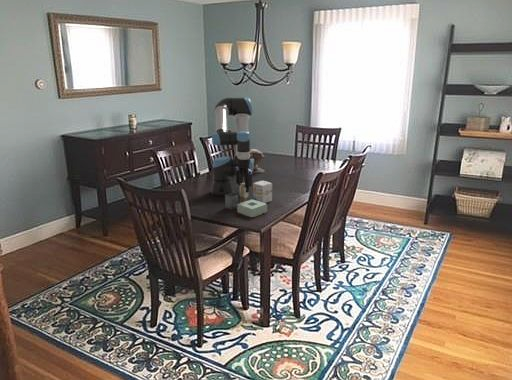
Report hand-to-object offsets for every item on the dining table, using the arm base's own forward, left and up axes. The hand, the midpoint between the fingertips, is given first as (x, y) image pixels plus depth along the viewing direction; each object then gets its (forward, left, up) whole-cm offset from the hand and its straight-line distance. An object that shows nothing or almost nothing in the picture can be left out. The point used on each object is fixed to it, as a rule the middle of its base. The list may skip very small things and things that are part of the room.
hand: (244, 196), depth 243 cm
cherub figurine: (-54, +62, -5) cm, 82 cm away
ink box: (+3, +13, -5) cm, 14 cm away
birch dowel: (0, 0, -4) cm, 4 cm away
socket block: (+13, -6, -5) cm, 16 cm away
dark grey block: (-1, -9, -5) cm, 11 cm away
